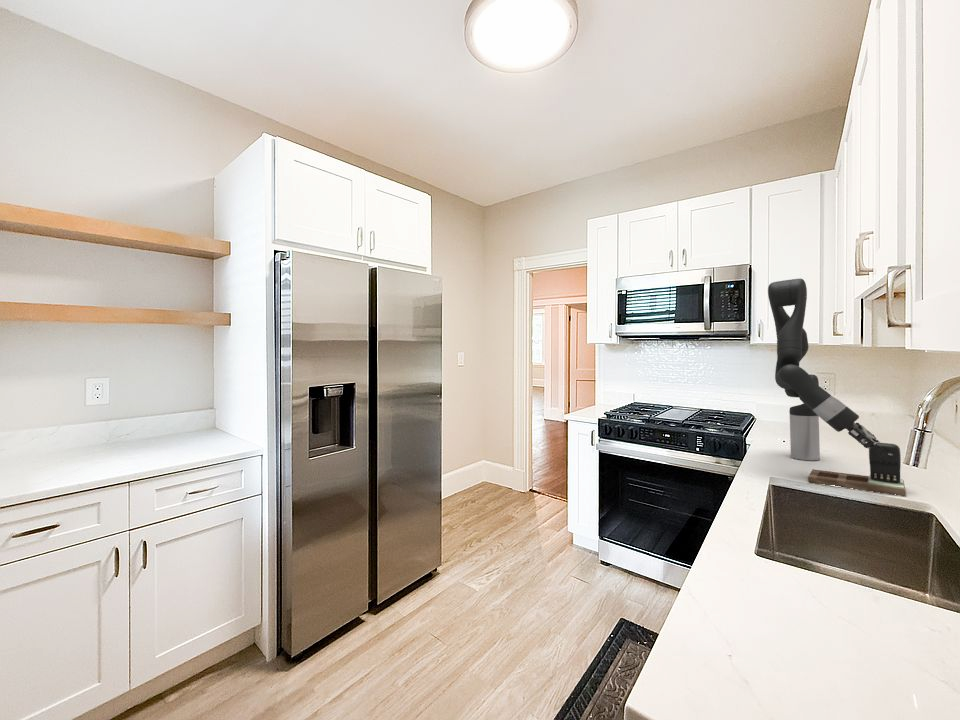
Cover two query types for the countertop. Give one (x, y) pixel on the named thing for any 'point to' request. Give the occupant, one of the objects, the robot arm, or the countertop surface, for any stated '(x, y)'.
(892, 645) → the countertop surface
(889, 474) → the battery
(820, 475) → the board
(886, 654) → the countertop surface
